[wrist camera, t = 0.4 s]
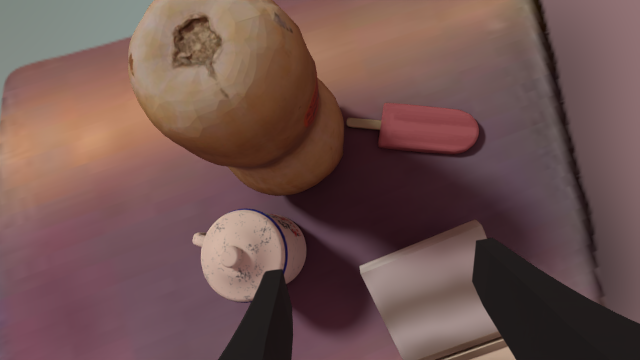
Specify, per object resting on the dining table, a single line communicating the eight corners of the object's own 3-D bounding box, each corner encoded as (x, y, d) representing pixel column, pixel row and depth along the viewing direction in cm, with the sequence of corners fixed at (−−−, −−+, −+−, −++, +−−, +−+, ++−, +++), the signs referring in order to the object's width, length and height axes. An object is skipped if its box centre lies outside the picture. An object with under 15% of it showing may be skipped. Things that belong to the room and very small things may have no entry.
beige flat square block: (514, 319, 36) (522, 329, 34) (404, 358, 37) (407, 369, 36) (475, 219, 33) (482, 225, 31) (359, 266, 35) (360, 274, 33)
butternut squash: (350, 201, 41) (282, 160, 17) (245, 199, 44) (62, 161, 20) (352, 89, 43) (295, -89, 19) (252, 94, 46) (92, -54, 22)
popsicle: (349, 98, 42) (482, 109, 38) (350, 103, 44) (478, 113, 40) (342, 141, 41) (476, 156, 38) (344, 144, 43) (473, 159, 39)
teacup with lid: (316, 221, 42) (286, 218, 31) (300, 297, 41) (262, 322, 30) (228, 201, 45) (170, 191, 33) (210, 272, 44) (146, 286, 33)
